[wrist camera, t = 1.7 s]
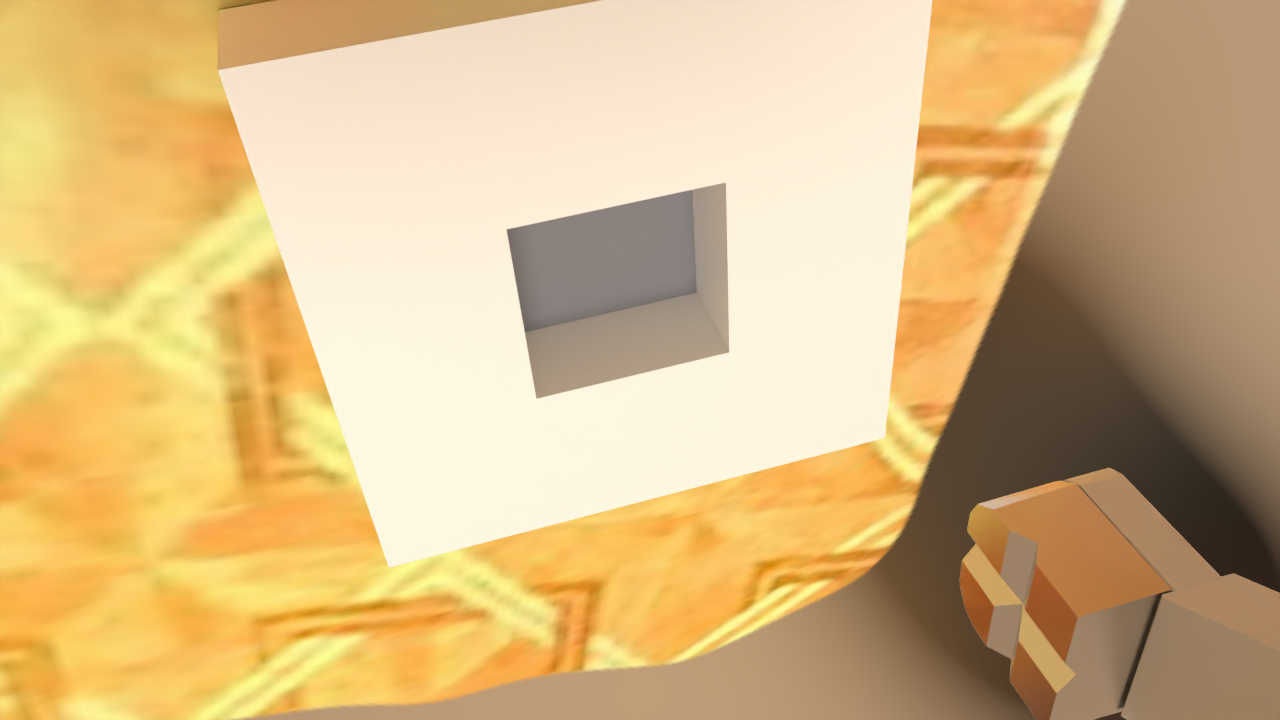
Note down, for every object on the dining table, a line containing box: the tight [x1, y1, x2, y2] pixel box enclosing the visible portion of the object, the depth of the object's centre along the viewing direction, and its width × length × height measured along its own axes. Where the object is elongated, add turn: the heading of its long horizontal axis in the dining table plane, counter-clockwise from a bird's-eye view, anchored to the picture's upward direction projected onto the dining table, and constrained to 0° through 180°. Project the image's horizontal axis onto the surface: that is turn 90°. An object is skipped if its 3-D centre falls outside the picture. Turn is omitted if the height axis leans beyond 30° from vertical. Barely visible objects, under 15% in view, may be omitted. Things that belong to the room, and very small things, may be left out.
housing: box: [218, 0, 932, 567], centre depth 38 cm, size 20×20×4 cm
